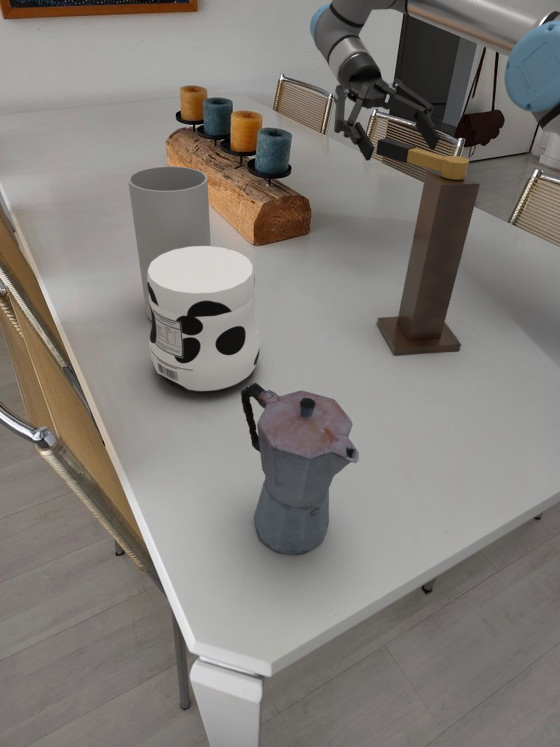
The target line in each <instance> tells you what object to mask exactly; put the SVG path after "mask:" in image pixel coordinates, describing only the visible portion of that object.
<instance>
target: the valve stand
mask: <svg viewBox="0 0 560 747" xmlns="http://www.w3.org/2000/svg"><path fill="white" fill-rule="evenodd" d="M480 185H481V183H479V181H477V180H476V179H474V178H473V177H471V176H470V175H469V174H468V173H466V177H465V178H464V179H461V180H452V179H447V178H444V177H442V176H441V172H439V171H435V170H433V171H432V170H431V171H426V172H425V175H424V181H423V187H422V190H421V197H420V201H419V207H418V212H417V218H416V222H415V227H414V232H413V237H412V243H411V248H410V254H409V258H408V262H407V269H406V274H405V278H404V283H403V290H402V294H401V300H400V305H399V310H398V315H397V316H384V317H383V316H382V317H377V321H376V326H377V328H378V329H379V332H380V333H381V335H382V337H383V338H384V340H385V342H386V344H387V346H388V347H389V350H390V351H391V353H392V355H393V356H405V355H418V354H419V355H420V354H421V355H422V354H434V353H449V352H459V351H460V349H461V346H462V343H461V342H460V341H459V339H458V338H457V336H456V335H455V334H454V332H453V330H452V329H451V328H450V327H449V326H448V324H447V323H446V319H447V314H448V310H449V307H450V302H451V300H452V299H451V298H452V295H453V291H454V287H455V284H456V279H457V276H458V271H459V268H460V263H461V258H462V256H463V252H464V247H465V244H466V240H467V236H468V232H469V228H470V225H471V220H472V216H473V213H474V210H475V205H476V201H477V198H478V194H479V189H480Z"/></svg>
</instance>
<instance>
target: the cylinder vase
mask: <svg viewBox="0 0 560 747" xmlns="http://www.w3.org/2000/svg"><path fill="white" fill-rule="evenodd" d="M127 182H128V190H129V197H130V205H131V211H132V218H133V225H134V234H135V240H136V248H137V256H138V262H139V271H140V277H141V285H142V292H143V299H144V306H145V313H146V315H147V316H146V317H147V318H148V319H149V320H150V321H151V322H152V316H151V309H150V304H149V291H148V285H147V272H148V268H149V266H150V264H151V262H152V261H153V260H155V259H156V258H157V257H158V256H160V255H162V254H164V253H167V252H169V251H172V250H174V249H180V248H185V247H190V246H212V245H211V244H212V243H211V220H210V203H209V202H210V201H209V200H210V199H209V182H208V175H207V174H206V173H205V172H203V171H201V170H199V169H195V168H191V167H186V166H178V165H177V166H175V165H170V166H169V165H167V166H165V165H164V166H154V167H148V168H144V169H141V170H140V169H139V170H137V171H135V172H133V173H131V174H130V175H129V176H128V178H127Z"/></svg>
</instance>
